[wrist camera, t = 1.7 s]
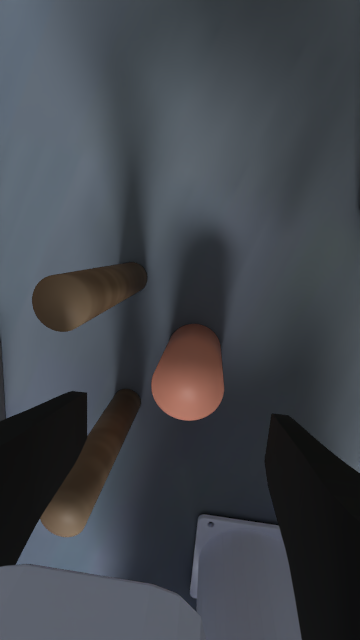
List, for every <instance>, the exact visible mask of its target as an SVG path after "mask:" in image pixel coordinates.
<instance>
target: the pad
mask: <svg viewBox="0 0 360 640" xmlns="http://www.w3.org/2000/svg"><path fill="white" fill-rule="evenodd" d="M4 419H5V403H4V386H3V369H2V352H1V342H0V421H2V420H4Z"/></svg>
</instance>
